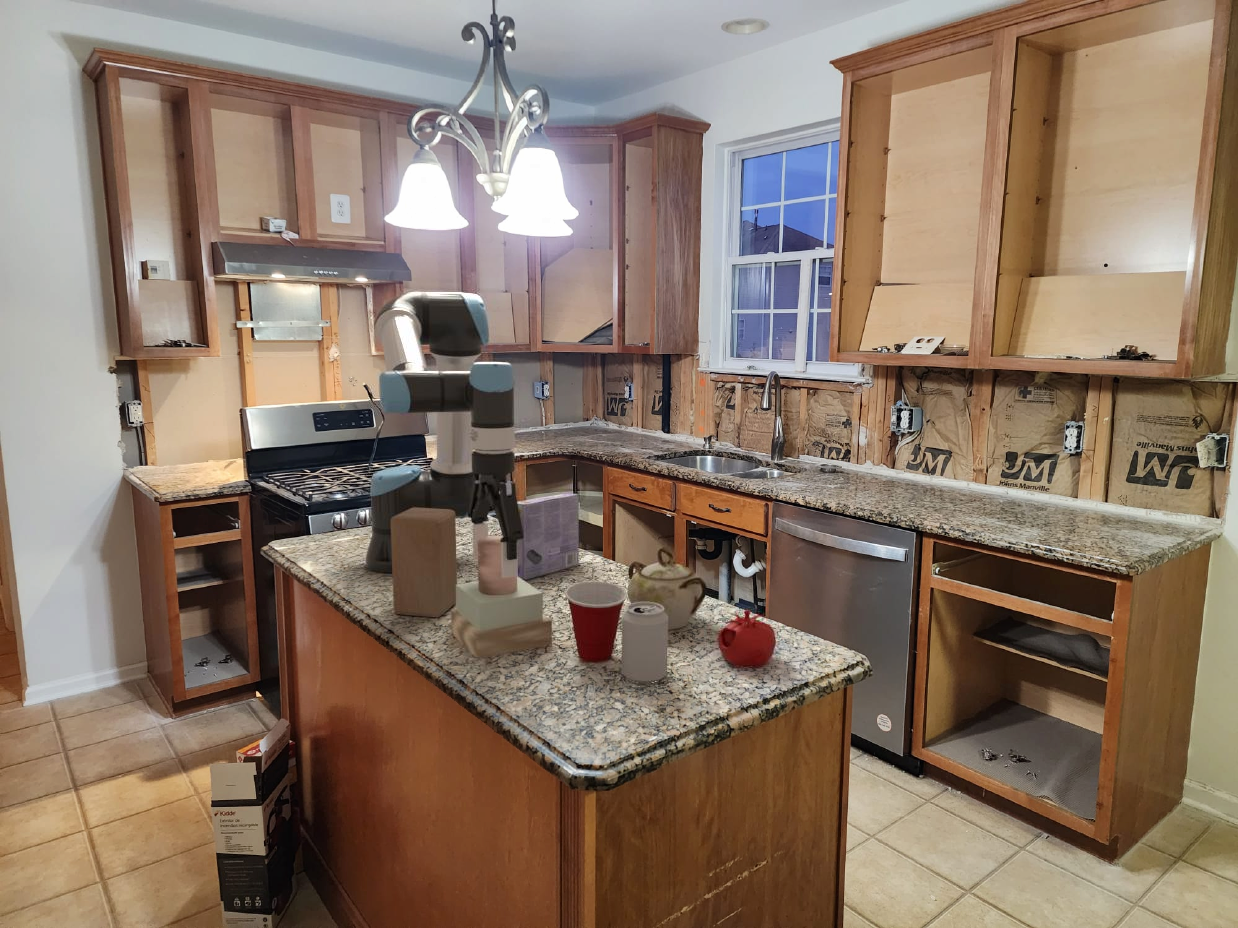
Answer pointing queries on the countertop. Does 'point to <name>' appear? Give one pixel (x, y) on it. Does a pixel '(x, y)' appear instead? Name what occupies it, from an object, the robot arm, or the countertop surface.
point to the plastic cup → (595, 617)
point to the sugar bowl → (667, 588)
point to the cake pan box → (548, 535)
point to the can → (644, 642)
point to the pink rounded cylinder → (492, 568)
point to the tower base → (501, 636)
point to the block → (424, 561)
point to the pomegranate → (747, 641)
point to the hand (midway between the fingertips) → (494, 566)
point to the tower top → (499, 606)
